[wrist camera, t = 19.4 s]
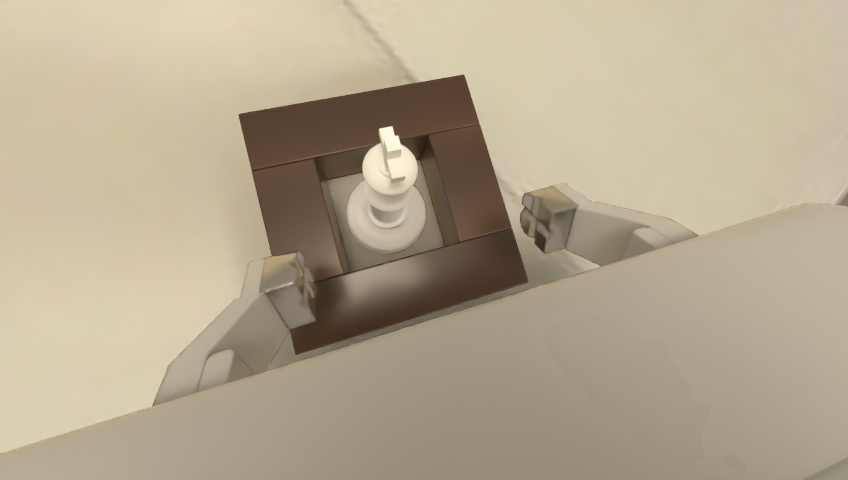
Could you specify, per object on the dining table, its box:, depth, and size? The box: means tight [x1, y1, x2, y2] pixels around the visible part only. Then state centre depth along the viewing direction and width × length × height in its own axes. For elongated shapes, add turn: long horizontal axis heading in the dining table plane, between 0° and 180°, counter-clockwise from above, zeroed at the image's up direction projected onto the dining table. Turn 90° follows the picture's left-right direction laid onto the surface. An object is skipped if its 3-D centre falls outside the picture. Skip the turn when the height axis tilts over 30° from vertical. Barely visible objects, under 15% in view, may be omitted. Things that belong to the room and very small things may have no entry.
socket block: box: [239, 75, 528, 355], centre depth 17 cm, size 12×12×4 cm
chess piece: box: [346, 126, 426, 254], centre depth 14 cm, size 5×5×10 cm
